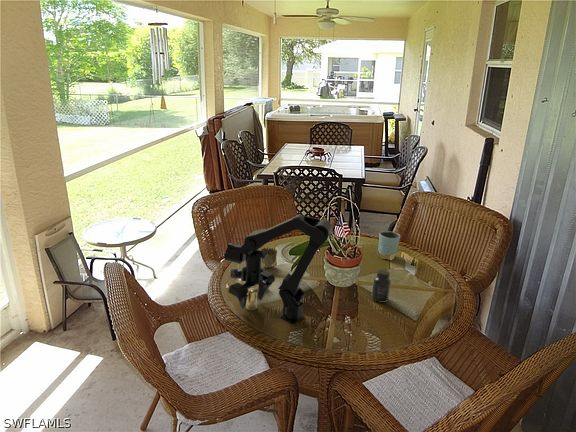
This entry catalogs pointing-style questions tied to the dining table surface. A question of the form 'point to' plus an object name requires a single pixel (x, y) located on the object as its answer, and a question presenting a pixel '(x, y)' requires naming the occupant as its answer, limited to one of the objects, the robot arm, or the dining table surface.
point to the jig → (244, 283)
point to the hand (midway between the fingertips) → (251, 303)
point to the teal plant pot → (388, 242)
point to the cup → (269, 257)
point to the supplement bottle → (381, 286)
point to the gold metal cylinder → (251, 299)
